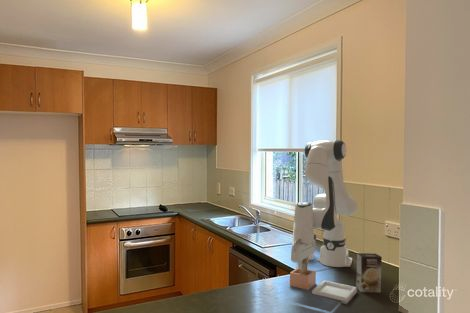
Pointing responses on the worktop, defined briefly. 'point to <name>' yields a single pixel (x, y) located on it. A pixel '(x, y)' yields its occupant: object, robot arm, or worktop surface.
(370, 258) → the coffee box
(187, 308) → the worktop surface
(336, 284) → the tray
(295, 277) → the orange open box
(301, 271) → the pin
